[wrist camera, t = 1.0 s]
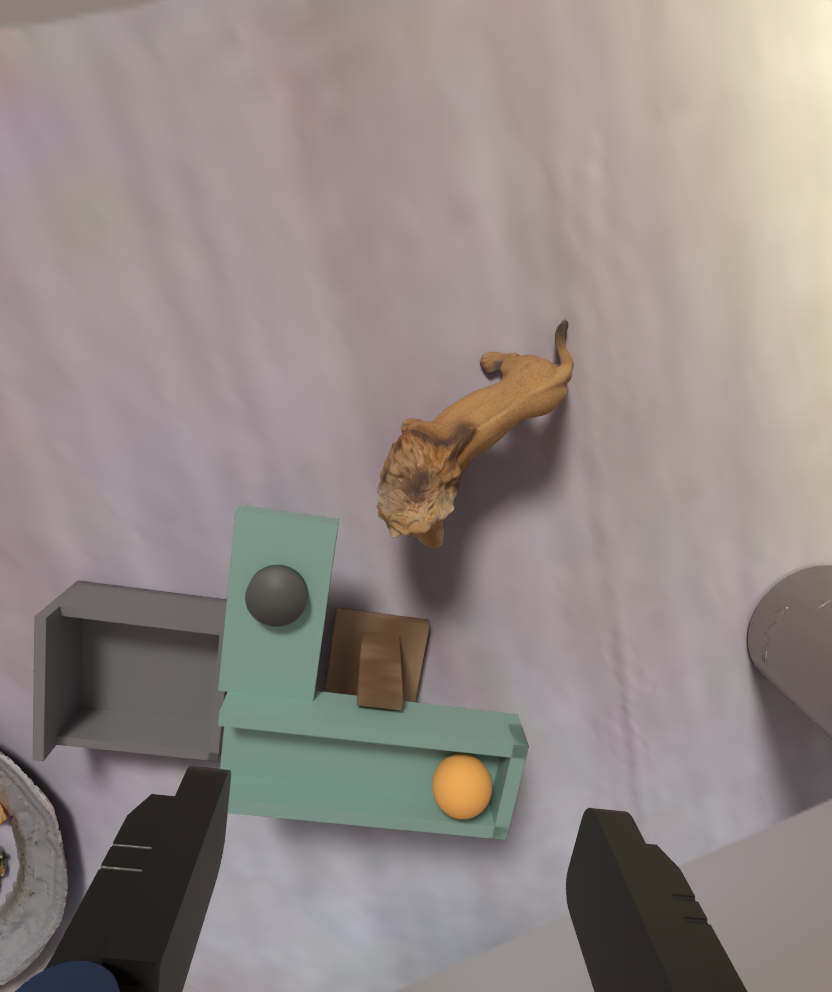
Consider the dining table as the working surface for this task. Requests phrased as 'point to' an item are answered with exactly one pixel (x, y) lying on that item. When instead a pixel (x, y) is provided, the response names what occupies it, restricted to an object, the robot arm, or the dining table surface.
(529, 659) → the dining table surface
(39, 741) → the tray
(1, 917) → the food plate
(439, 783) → the ball
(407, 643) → the fulcrum
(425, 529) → the lion figurine
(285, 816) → the lever
